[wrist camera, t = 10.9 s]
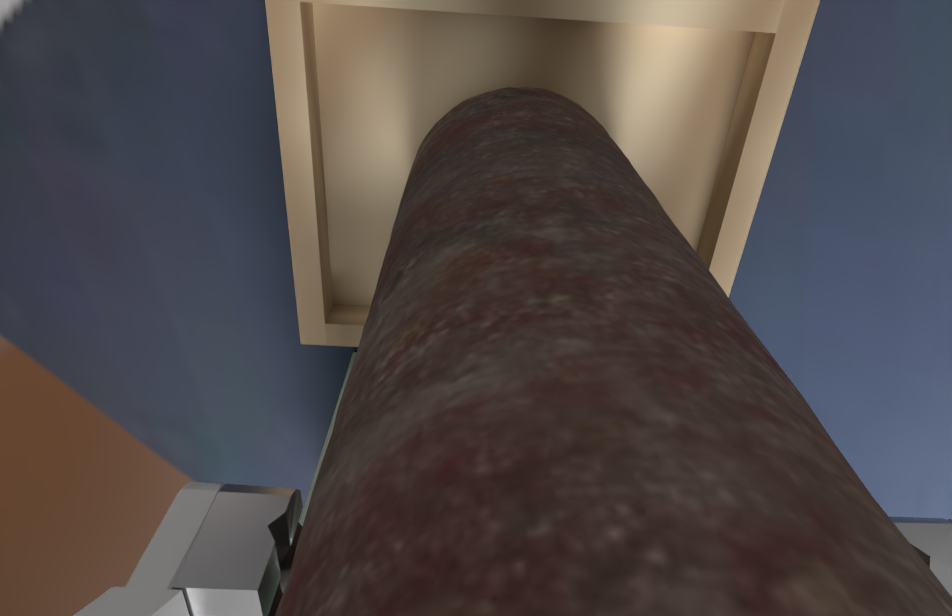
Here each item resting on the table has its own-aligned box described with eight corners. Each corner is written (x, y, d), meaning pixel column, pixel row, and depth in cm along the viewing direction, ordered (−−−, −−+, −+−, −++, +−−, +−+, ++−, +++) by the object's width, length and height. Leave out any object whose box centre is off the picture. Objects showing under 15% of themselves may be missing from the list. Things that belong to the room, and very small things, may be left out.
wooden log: (468, 29, 19) (378, 662, 2) (660, 131, 21) (1483, 963, 4) (380, 229, 23) (78, 1079, 6) (551, 304, 25) (719, 1145, 7)
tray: (783, -8, 20) (821, -3, 18) (689, 331, 26) (707, 365, 24) (285, -42, 19) (260, -41, 17) (315, 311, 26) (300, 344, 24)
